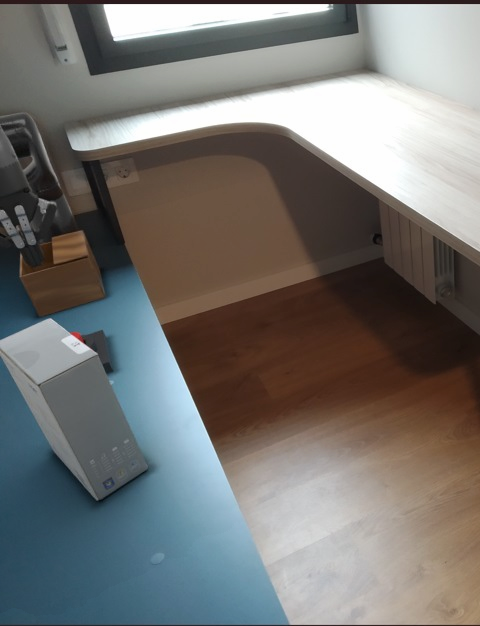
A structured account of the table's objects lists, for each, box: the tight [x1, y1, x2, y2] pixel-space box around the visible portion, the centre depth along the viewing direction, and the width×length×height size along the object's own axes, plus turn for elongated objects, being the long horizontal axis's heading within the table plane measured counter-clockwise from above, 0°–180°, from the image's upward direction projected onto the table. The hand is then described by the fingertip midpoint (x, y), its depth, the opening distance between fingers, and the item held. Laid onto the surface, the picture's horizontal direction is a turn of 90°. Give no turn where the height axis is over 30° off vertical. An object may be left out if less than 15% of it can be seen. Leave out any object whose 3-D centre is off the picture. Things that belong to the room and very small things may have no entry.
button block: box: [80, 329, 114, 375], centre depth 109 cm, size 12×10×4 cm
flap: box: [52, 230, 88, 265], centre depth 129 cm, size 15×6×1 cm, turn 28°
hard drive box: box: [0, 318, 149, 501], centre depth 83 cm, size 16×8×20 cm, turn 48°
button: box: [69, 331, 85, 344], centre depth 107 cm, size 4×4×2 cm
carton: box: [19, 232, 107, 318], centre depth 131 cm, size 15×13×9 cm
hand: (37, 264), depth 102 cm, fingers closed
